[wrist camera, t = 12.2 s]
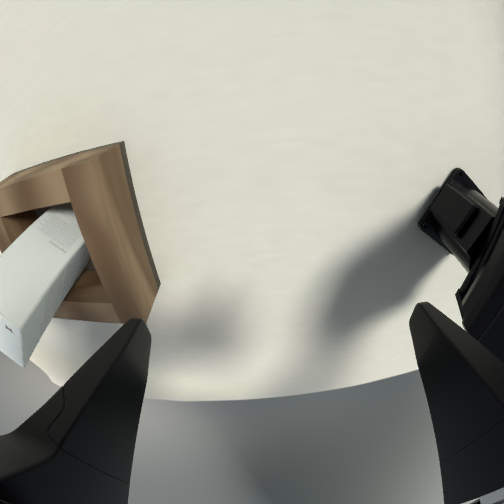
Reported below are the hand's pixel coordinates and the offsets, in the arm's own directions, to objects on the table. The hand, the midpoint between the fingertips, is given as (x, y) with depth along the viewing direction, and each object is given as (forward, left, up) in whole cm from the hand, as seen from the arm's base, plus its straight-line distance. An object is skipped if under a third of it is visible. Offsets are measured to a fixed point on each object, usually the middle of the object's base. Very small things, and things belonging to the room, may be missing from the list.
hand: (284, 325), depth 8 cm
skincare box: (+13, +10, -12) cm, 21 cm away
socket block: (+13, +10, -13) cm, 21 cm away
